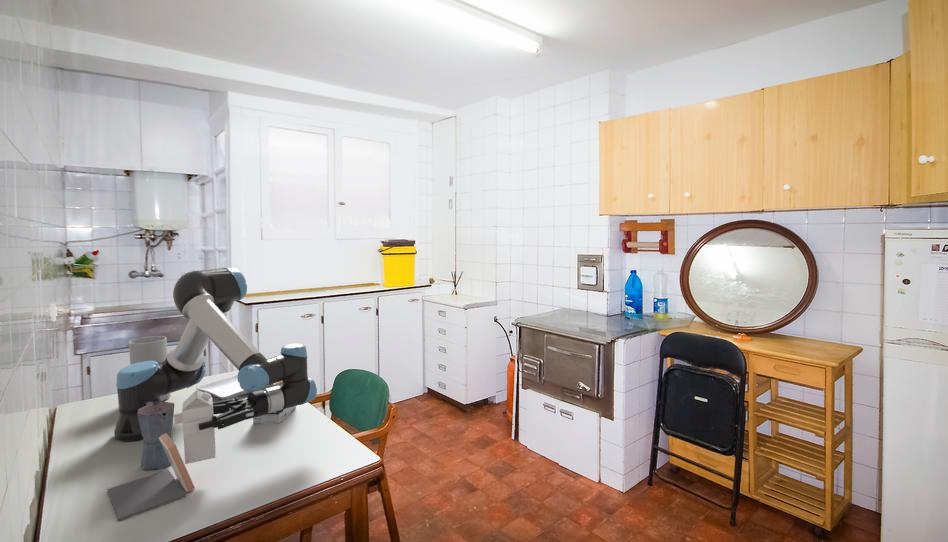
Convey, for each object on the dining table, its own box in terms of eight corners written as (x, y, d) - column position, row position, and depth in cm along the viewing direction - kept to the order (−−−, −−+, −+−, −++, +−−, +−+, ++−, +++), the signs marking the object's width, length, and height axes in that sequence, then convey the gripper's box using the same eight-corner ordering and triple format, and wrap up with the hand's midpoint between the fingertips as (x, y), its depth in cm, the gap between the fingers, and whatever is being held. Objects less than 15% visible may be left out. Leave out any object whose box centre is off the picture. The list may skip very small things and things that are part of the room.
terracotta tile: (177, 478, 130) (158, 437, 126) (185, 474, 132) (166, 432, 128) (187, 493, 123) (166, 449, 119) (195, 488, 125) (175, 444, 121)
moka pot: (152, 477, 131) (147, 409, 129) (128, 463, 139) (122, 398, 137) (188, 462, 139) (184, 398, 137) (162, 449, 147) (158, 388, 145)
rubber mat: (107, 491, 124) (107, 489, 124) (168, 471, 134) (168, 469, 134) (118, 521, 112) (118, 518, 111) (185, 496, 121) (185, 494, 121)
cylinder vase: (128, 401, 188) (123, 340, 186) (162, 392, 198) (158, 334, 196) (141, 408, 181) (136, 345, 178) (176, 398, 191) (171, 338, 189)
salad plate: (223, 404, 185) (222, 396, 185) (195, 394, 196) (195, 386, 196) (271, 389, 203) (271, 381, 202) (243, 380, 214) (243, 373, 214)
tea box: (280, 424, 166) (278, 383, 164) (252, 424, 166) (250, 383, 165) (297, 407, 181) (295, 370, 179) (271, 407, 181) (269, 370, 180)
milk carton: (185, 464, 124) (180, 396, 122) (186, 453, 131) (182, 388, 129) (215, 458, 128) (211, 391, 126) (215, 447, 134) (211, 383, 132)
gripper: (280, 424, 134) (191, 451, 118) (252, 404, 149) (169, 426, 133) (279, 398, 133) (189, 423, 117) (250, 381, 148) (168, 400, 132)
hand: (179, 424), depth 125 cm, fingers closed on milk carton, 9 cm apart
